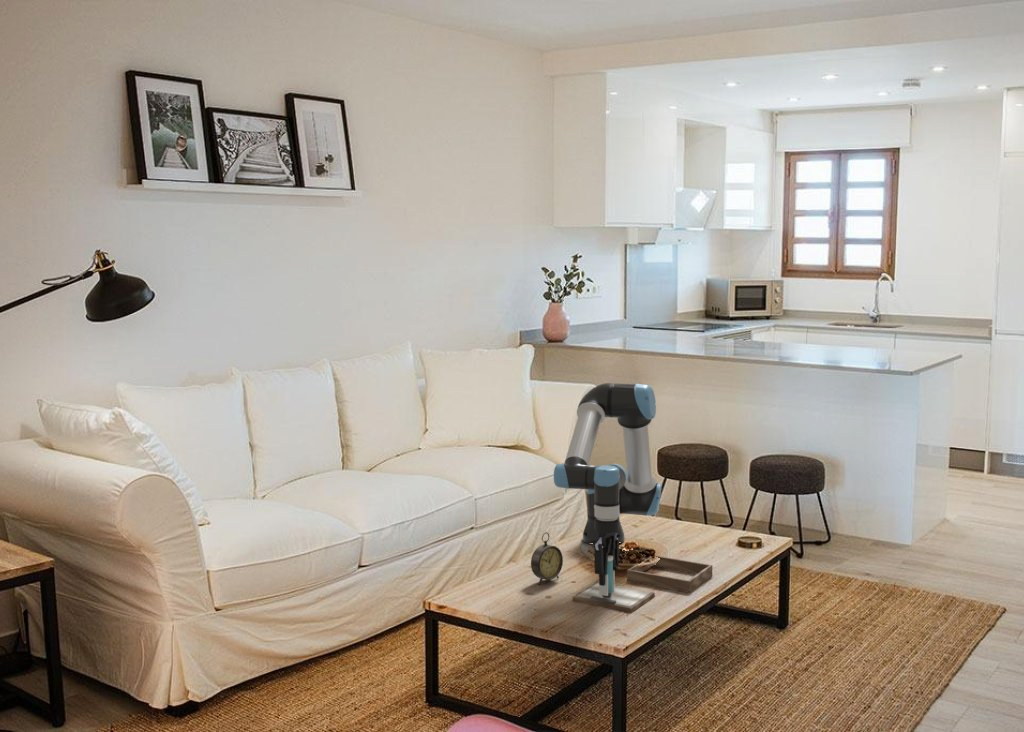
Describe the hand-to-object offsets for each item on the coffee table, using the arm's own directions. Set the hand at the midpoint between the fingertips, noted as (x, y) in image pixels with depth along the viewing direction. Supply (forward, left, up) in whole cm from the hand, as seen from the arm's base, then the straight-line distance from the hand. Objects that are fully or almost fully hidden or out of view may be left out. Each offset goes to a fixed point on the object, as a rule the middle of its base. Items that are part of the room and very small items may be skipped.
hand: (606, 592), depth 315 cm
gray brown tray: (-30, +7, -3) cm, 31 cm away
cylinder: (0, 0, -1) cm, 1 cm away
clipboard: (-4, 0, -3) cm, 5 cm away
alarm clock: (-7, -26, -3) cm, 27 cm away
